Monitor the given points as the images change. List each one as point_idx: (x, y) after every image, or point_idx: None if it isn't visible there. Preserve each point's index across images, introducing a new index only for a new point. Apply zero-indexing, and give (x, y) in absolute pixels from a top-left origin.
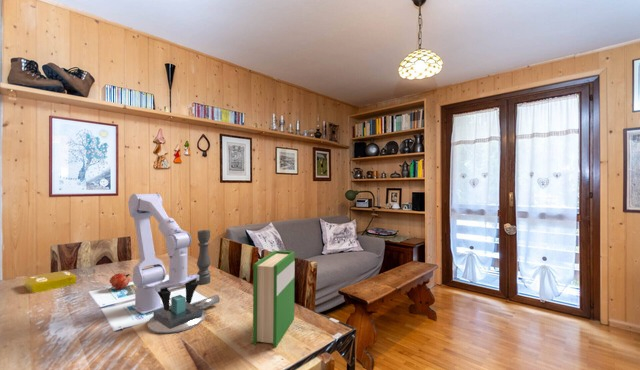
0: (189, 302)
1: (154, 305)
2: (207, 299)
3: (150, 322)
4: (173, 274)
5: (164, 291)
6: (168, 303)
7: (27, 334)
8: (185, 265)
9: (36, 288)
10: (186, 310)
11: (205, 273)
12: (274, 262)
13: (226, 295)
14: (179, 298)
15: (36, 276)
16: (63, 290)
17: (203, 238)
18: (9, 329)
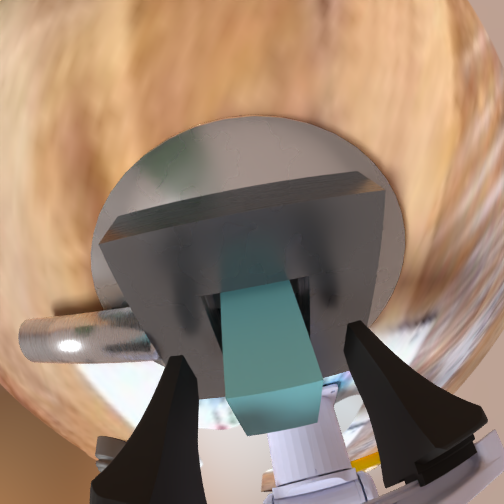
0: (179, 359)
1: None
2: (67, 350)
3: (374, 310)
4: None
5: (449, 449)
6: (383, 360)
7: (472, 363)
8: None
9: (379, 457)
10: (207, 308)
11: (106, 466)
12: None
13: (28, 360)
14: (282, 401)
15: (366, 471)
16: (356, 457)
17: None
18: (463, 382)
